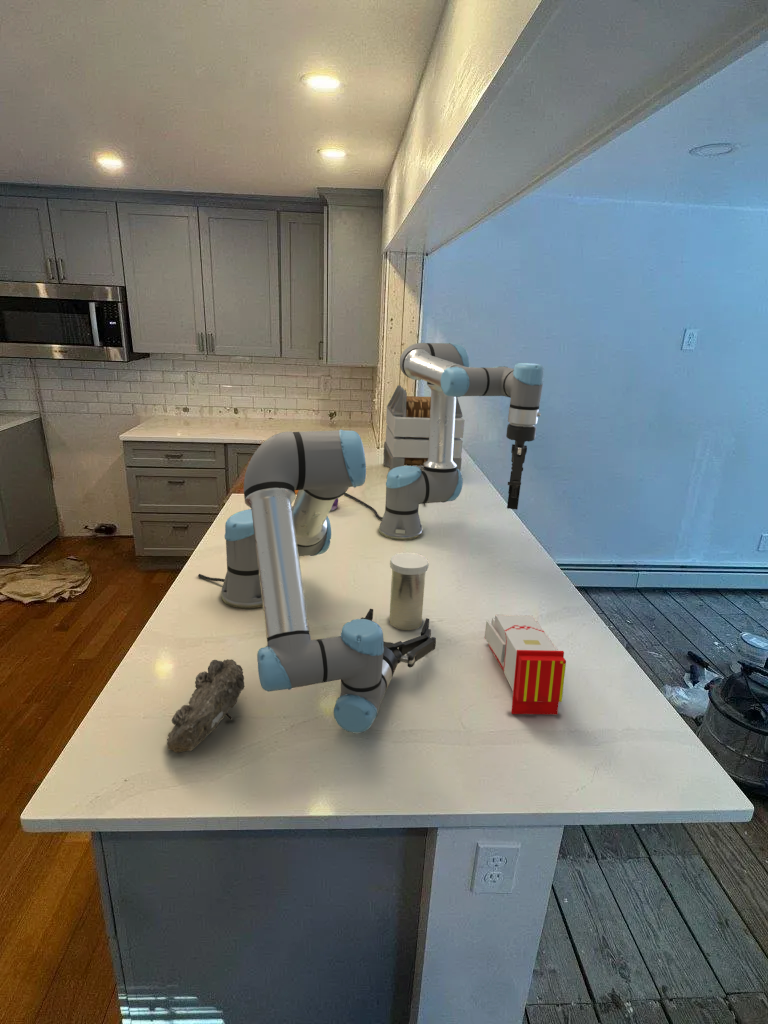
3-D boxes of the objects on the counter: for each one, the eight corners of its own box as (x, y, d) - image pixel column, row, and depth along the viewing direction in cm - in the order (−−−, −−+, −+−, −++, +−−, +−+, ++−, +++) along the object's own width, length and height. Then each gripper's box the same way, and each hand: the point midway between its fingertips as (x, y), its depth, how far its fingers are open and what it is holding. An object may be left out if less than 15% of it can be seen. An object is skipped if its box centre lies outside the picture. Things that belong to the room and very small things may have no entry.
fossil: (192, 660, 117) (244, 628, 112) (224, 691, 120) (276, 661, 115) (142, 746, 98) (202, 712, 93) (182, 779, 101) (242, 748, 96)
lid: (435, 569, 138) (436, 563, 137) (404, 578, 133) (404, 571, 132) (413, 555, 145) (413, 549, 144) (382, 563, 140) (382, 556, 139)
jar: (428, 625, 143) (432, 564, 137) (401, 633, 139) (405, 571, 133) (408, 610, 149) (412, 552, 144) (383, 618, 145) (385, 558, 139)
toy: (530, 600, 137) (574, 657, 108) (525, 651, 140) (567, 720, 111) (480, 599, 137) (511, 656, 107) (477, 651, 139) (506, 719, 110)
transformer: (382, 463, 289) (386, 382, 275) (445, 464, 293) (451, 384, 279) (390, 482, 257) (394, 392, 243) (460, 483, 261) (468, 394, 247)
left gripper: (316, 673, 119) (348, 623, 138) (434, 697, 113) (450, 641, 132) (316, 643, 116) (349, 596, 135) (437, 665, 110) (452, 613, 130)
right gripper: (538, 434, 137) (526, 517, 144) (536, 417, 160) (526, 489, 167) (506, 432, 138) (496, 513, 145) (508, 415, 161) (500, 486, 168)
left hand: (399, 618), depth 134 cm, fingers open, 13 cm apart
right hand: (512, 500), depth 156 cm, fingers open, 13 cm apart
